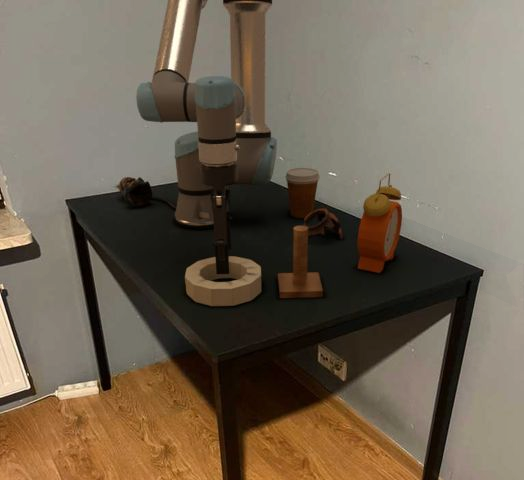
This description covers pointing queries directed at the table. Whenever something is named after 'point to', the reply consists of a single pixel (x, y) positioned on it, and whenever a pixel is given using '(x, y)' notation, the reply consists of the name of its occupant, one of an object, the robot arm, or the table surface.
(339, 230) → the pottery mug
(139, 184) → the figurine
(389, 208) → the alarm clock
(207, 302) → the ring
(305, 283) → the stand
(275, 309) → the table surface
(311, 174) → the disposable coffee cup
